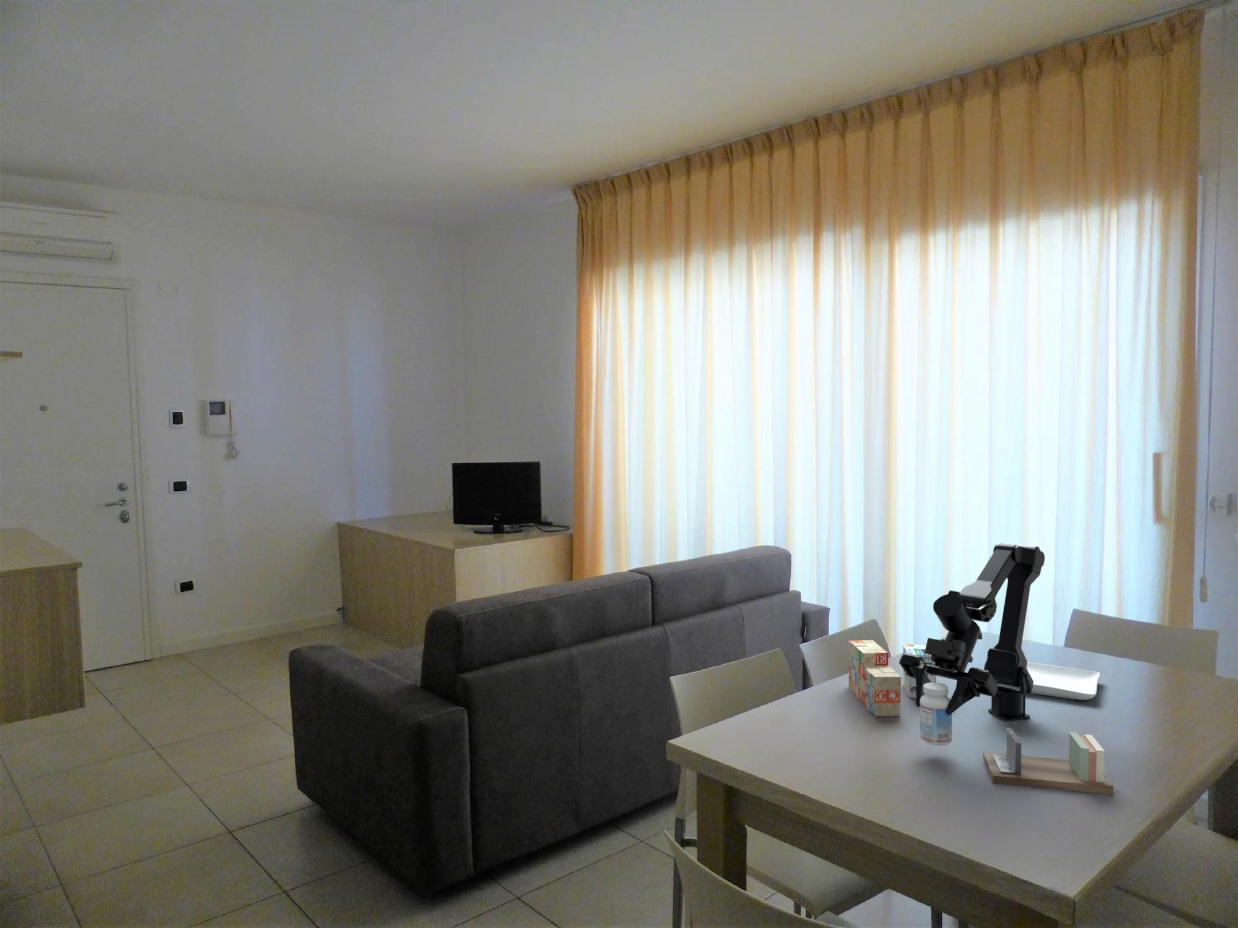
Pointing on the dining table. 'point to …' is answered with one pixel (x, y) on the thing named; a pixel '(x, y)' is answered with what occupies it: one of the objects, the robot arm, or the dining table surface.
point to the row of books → (1086, 757)
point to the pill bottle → (935, 715)
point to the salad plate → (1063, 681)
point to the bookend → (1010, 755)
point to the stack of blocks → (874, 678)
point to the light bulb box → (909, 681)
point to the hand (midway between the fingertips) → (932, 709)
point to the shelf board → (1045, 775)
